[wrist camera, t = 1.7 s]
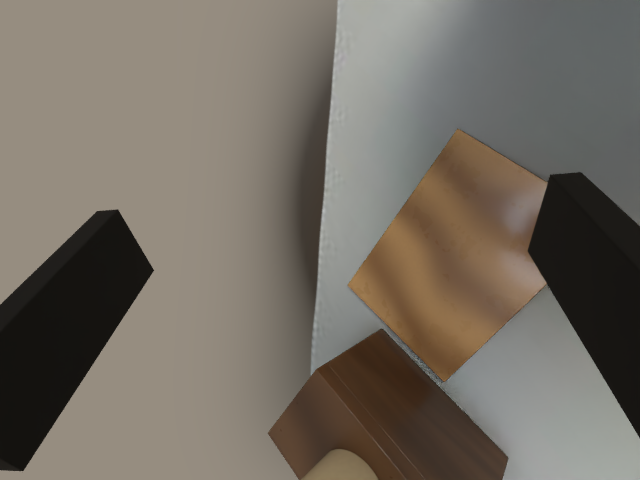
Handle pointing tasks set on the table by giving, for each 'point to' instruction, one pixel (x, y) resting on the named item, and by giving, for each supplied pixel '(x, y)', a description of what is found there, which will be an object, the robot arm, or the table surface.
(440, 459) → the shelf
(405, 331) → the cork mat
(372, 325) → the table surface
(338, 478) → the spice bottle
